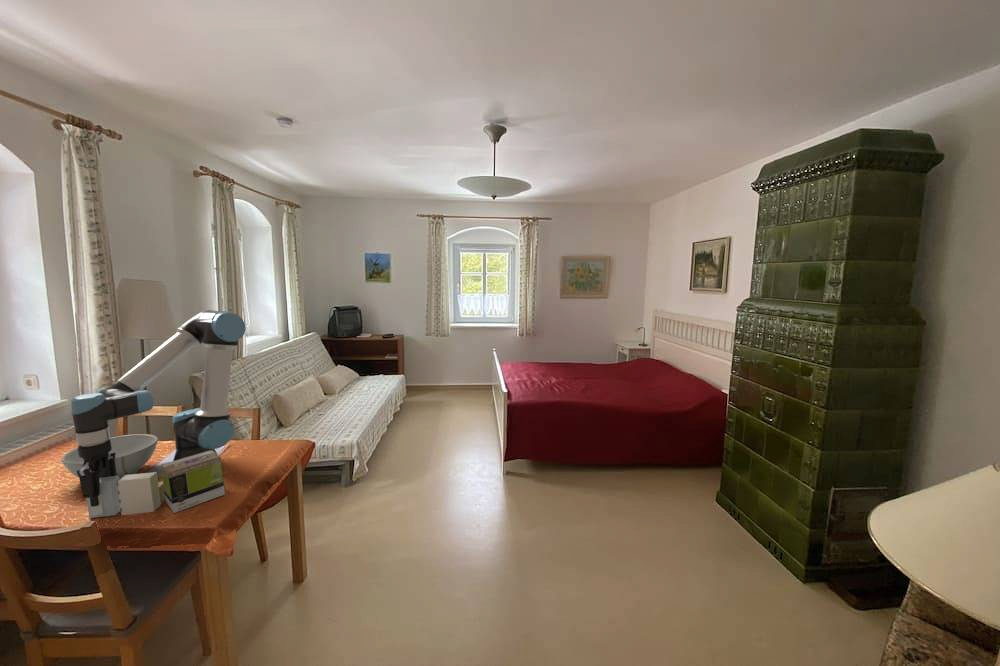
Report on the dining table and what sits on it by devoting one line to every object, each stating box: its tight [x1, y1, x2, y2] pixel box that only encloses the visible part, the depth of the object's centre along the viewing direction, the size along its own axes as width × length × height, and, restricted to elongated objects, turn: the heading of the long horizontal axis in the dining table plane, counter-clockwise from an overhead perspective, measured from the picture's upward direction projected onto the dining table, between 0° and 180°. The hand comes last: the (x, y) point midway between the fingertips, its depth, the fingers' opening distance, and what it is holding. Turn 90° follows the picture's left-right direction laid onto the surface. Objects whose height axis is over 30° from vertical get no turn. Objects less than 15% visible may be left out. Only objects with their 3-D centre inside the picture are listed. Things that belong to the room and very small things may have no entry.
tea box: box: [160, 450, 226, 514], centre depth 139 cm, size 15×10×15 cm, turn 141°
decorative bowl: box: [60, 433, 159, 479], centre depth 155 cm, size 27×27×12 cm
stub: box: [85, 476, 121, 519], centre depth 130 cm, size 4×7×12 cm, turn 103°
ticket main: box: [117, 471, 166, 516], centre depth 135 cm, size 9×9×12 cm
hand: (103, 509), depth 131 cm, fingers closed on stub, 4 cm apart
